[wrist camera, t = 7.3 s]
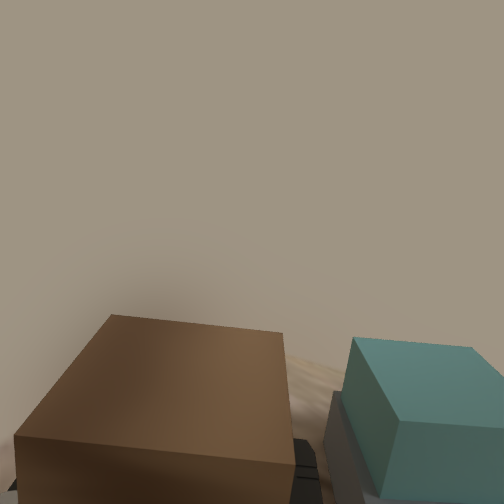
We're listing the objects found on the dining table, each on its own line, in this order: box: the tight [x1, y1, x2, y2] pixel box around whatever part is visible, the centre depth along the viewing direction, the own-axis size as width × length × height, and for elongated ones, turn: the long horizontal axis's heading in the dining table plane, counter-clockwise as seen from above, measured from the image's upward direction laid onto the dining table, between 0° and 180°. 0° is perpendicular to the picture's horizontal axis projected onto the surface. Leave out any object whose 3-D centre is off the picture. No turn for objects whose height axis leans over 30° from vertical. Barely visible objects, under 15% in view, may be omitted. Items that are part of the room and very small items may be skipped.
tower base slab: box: [323, 391, 461, 504], centre depth 22 cm, size 8×8×4 cm
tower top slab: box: [341, 337, 504, 504], centre depth 21 cm, size 7×7×4 cm
